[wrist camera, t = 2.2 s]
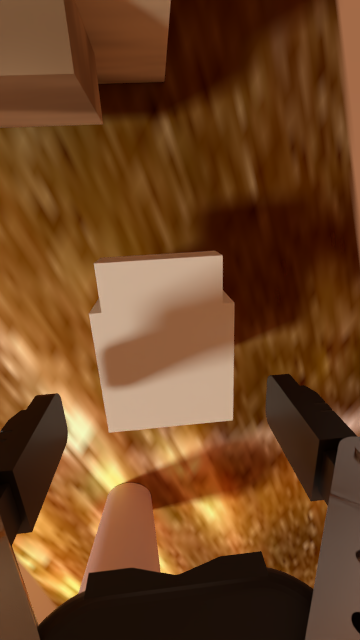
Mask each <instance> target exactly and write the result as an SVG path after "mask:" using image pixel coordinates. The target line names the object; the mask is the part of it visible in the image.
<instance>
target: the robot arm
mask: <svg viewBox="0 0 360 640" xmlns="http://www.w3.org/2000/svg"><path fill="white" fill-rule="evenodd" d="M266 417H267V421H268V424H269V426H270V428H271V430H272V432H273V434H274V435H275V437H276V439H277V441H278V443H279V444H280V446H281V448H282V450H283V452H284V453H285V455H286V457H287V459H288V461H289V463H290V464H291V466H292V468H293V470H294V472H295V473H296V475H297V477H298V479H299V481H300V482H301V484H302V486H303V488H304V490H305V492H306V493H307V495H308V497H309V499H310V501H317V500H325V502H326V504H327V505H328V508H327V514H326V520H325V526H324V532H323V538H322V543H321V549H320V555H319V561H318V567H317V573H316V578H315V584H314V589H312V588H311V587H309V586H308V585H307V584H305V583H304V582H302V581H300V580H299V579H297V578H295V577H293V576H291V575H289V574H287V573H285V572H282V571H279V570H276V569H272V568H267V567H266V565H265V562H264V558H263V555H262V552H261V551H260V552H252V553H244V554H236V555H228V556H220V557H218V558H216V559H213V560H211V561H209V562H207V563H204V564H202V565H200V566H198V567H195V568H193V569H191V570H189V571H186V572H184V573H182V574H179V575H171V574H166V573H160V572H155V571H149V570H143V569H138V568H124V569H116V570H108V571H100V572H92V573H89V574H88V579H87V584H86V590H85V591H84V592H81V593H79V594H77V595H76V596H74V597H72V598H70V599H69V600H67V601H66V602H64V603H63V604H62V605H60V606H59V607H58V608H56V609H55V610H54V611H53V612H52V613H51V614H50V615H49V616H48V617H46V618H45V619H44V620H43V621H42V622H41V623H40V624H39V625H38V622H37V619H36V617H35V614H34V611H33V608H32V605H31V602H30V599H29V596H28V593H27V590H26V587H25V584H24V581H23V578H22V575H21V572H20V569H19V566H18V563H17V560H16V557H15V554H14V551H13V548H12V544H13V542H14V539H15V537H16V535H17V534H20V533H29V532H32V531H33V528H34V526H35V523H36V520H37V518H38V515H39V513H40V510H41V508H42V505H43V502H44V500H45V497H46V495H47V492H48V490H49V487H50V484H51V482H52V479H53V477H54V474H55V472H56V469H57V467H58V464H59V461H60V459H61V456H62V454H63V451H64V449H65V446H66V443H67V436H68V431H67V424H66V420H65V415H64V410H63V406H62V401H61V397H60V395H59V394H46V395H37V396H35V398H34V399H33V400H32V402H31V403H30V405H29V406H28V408H27V409H26V410H21V411H20V412H18V413H17V414H16V415H15V416H13V417H12V418H11V419H9V420H8V422H7V423H6V424H5V426H4V427H3V428H2V430H1V433H0V640H360V437H357V436H356V434H355V433H354V432H353V431H352V430H351V429H350V428H349V427H348V426H347V425H346V424H345V423H344V422H343V420H342V419H341V418H340V417H339V416H338V415H337V414H336V413H335V412H334V411H332V409H331V408H330V406H329V405H328V404H327V403H325V401H324V400H323V399H322V398H321V397H320V396H319V395H318V393H316V392H315V391H313V390H311V389H310V388H308V387H306V386H299V385H298V383H297V382H296V381H295V380H294V379H293V378H292V376H291V375H289V374H282V375H270V376H269V377H268V380H267V395H266Z"/></svg>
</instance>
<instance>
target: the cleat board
mask: <svg viewBox="0 0 360 640" xmlns="http://www.w3.org/2000/svg"><path fill="white" fill-rule="evenodd" d="M170 4H171V0H0V128H9V127H36V126H64V125H92V124H103V119H102V111H101V103H100V95H99V87H98V84H108V83H143V82H164V81H165V68H166V55H167V42H168V30H169V17H170Z"/></svg>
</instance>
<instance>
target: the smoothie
mask: <svg viewBox="0 0 360 640" xmlns="http://www.w3.org/2000/svg"><path fill="white" fill-rule="evenodd" d="M124 568H138V569H143V570H149V571H155V572H160V564H159V556H158V548H157V540H156V532H155V524H154V516H153V508H152V499H151V494H150V492H149V490H148V489H147V488H146V487H144V486H142V485H140V484H137V483H124V484H120V485H118V486H116V487H114V488H113V489H112V490H111V491H110V493H109V494H108V497H107V501H106V504H105V507H104V511H103V514H102V517H101V521H100V524H99V527H98V531H97V534H96V537H95V541H94V544H93V547H92V551H91V554H90V557H89V561H88V564H87V567H86V571H85V574H84V577H83V580H82V584H81V587H80V590H79V593H81V592H84V591H85V590H86V584H87V579H88V574H89V573H92V572H100V571H108V570H116V569H124ZM79 593H78V594H79Z"/></svg>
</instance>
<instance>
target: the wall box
mask: <svg viewBox="0 0 360 640" xmlns="http://www.w3.org/2000/svg"><path fill="white" fill-rule="evenodd" d="M94 267H95V274H96V280H97V287H98V294H99V299H98V301H97V302H96V304H95V305H94V307H93V308H92V310H91V312H90V313H89V317H90V323H91V329H92V334H93V340H94V346H95V352H96V358H97V364H98V370H99V376H100V382H101V388H102V393H103V399H104V405H105V411H106V417H107V423H108V429H109V432H119V431H129V430H139V429H149V428H159V427H169V426H179V425H189V424H199V423H209V422H219V421H229V420H233V374H234V305H235V303H234V302H233V301H232V300H231V298H230V297H229V296H228V295H227V294H226V293H225V292H224V291H223V255H221V254H220V253H218V252H217V251H202V252H186V253H171V254H155V255H139V256H123V257H108V258H100V259H99V260H98V261H96V262H95V263H94Z"/></svg>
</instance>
